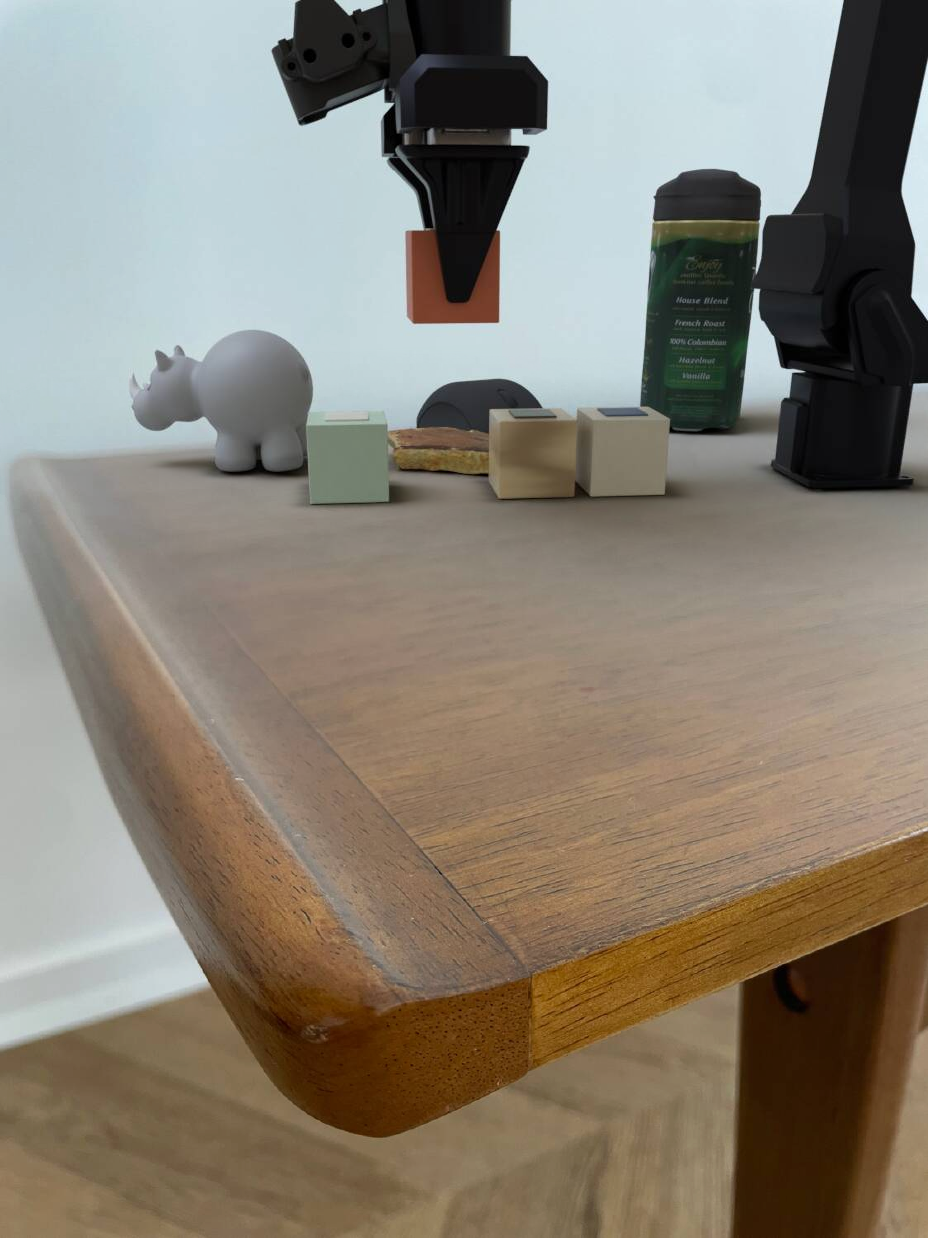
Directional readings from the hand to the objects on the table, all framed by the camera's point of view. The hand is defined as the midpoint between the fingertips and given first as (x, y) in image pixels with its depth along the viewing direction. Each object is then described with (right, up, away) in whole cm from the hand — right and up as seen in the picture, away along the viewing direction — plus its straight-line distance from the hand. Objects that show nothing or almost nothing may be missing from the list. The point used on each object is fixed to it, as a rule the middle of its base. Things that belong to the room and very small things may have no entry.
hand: (452, 299), depth 54 cm
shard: (+1, -7, +14) cm, 16 cm away
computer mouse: (+2, -3, +24) cm, 24 cm away
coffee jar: (+19, -1, +28) cm, 34 cm away
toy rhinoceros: (-15, -7, +14) cm, 21 cm away
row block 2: (+4, -9, +7) cm, 12 cm away
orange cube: (0, -1, 0) cm, 1 cm away
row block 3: (+10, -9, +8) cm, 15 cm away
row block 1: (-6, -9, +6) cm, 13 cm away
